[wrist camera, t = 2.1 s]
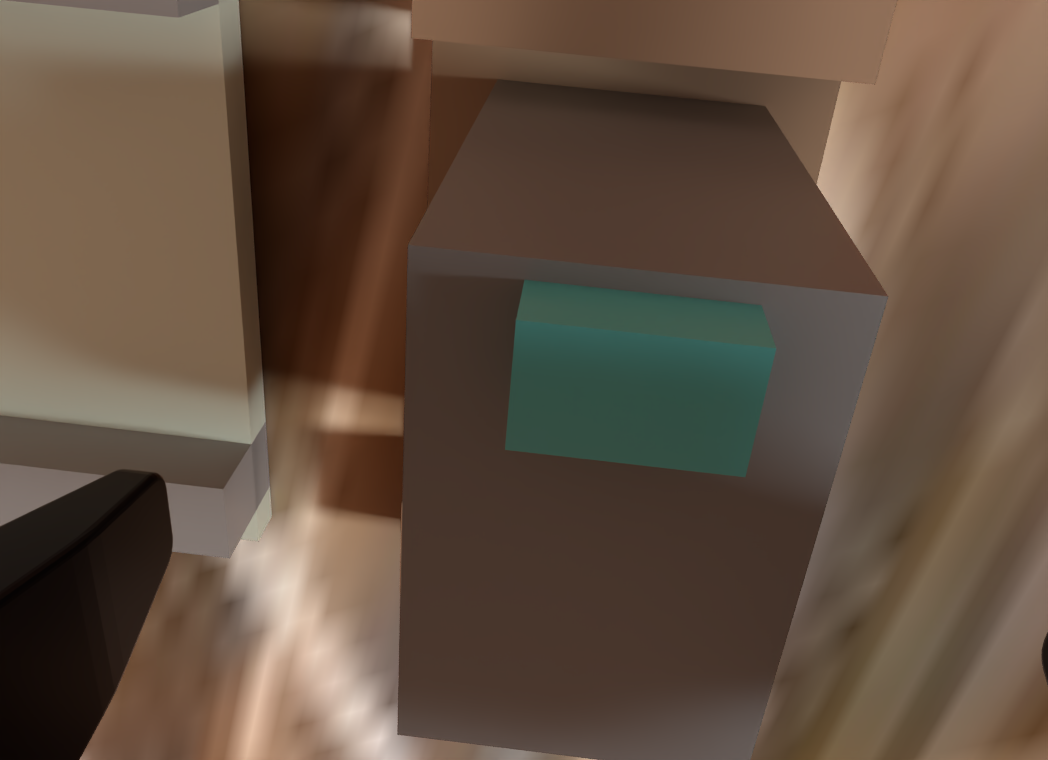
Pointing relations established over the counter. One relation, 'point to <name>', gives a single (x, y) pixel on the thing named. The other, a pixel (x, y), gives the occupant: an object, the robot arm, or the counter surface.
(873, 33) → the walnut dock
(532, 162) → the plug
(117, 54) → the cradle
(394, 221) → the counter surface
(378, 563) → the counter surface
